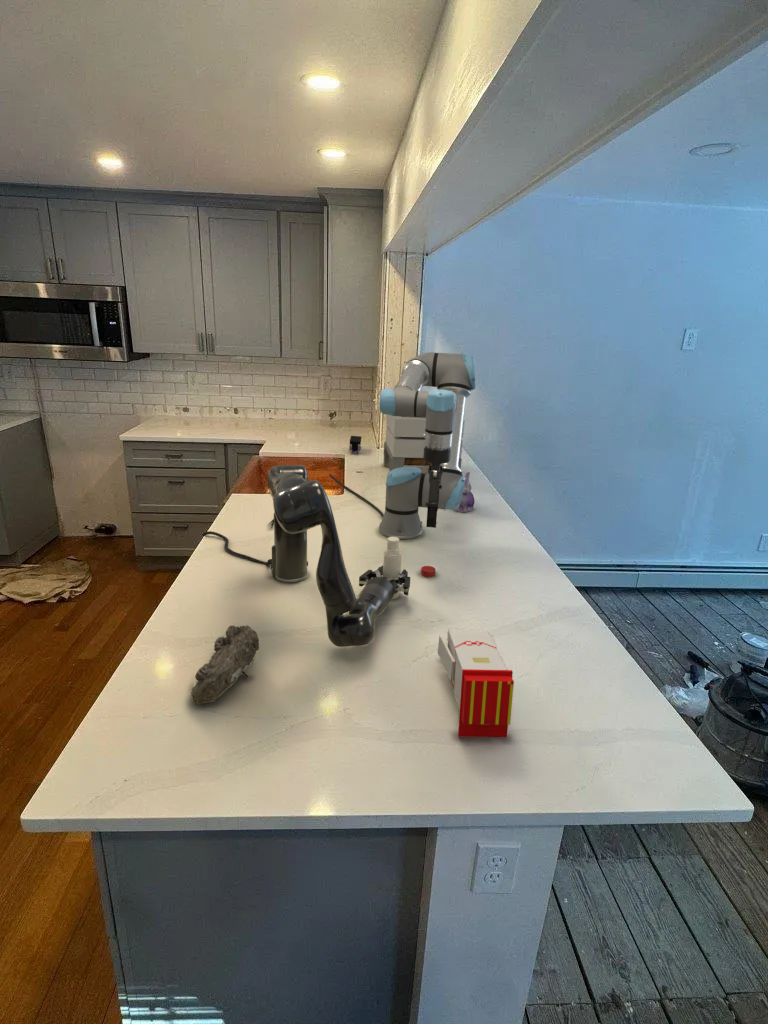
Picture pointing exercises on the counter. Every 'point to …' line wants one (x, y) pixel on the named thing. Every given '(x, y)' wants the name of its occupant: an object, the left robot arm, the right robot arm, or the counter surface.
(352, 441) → the figurine character
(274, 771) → the counter surface
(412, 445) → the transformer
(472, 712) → the toy
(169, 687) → the counter surface
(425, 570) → the cap
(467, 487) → the figurine
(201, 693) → the fossil
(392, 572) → the bottle
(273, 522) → the feather
